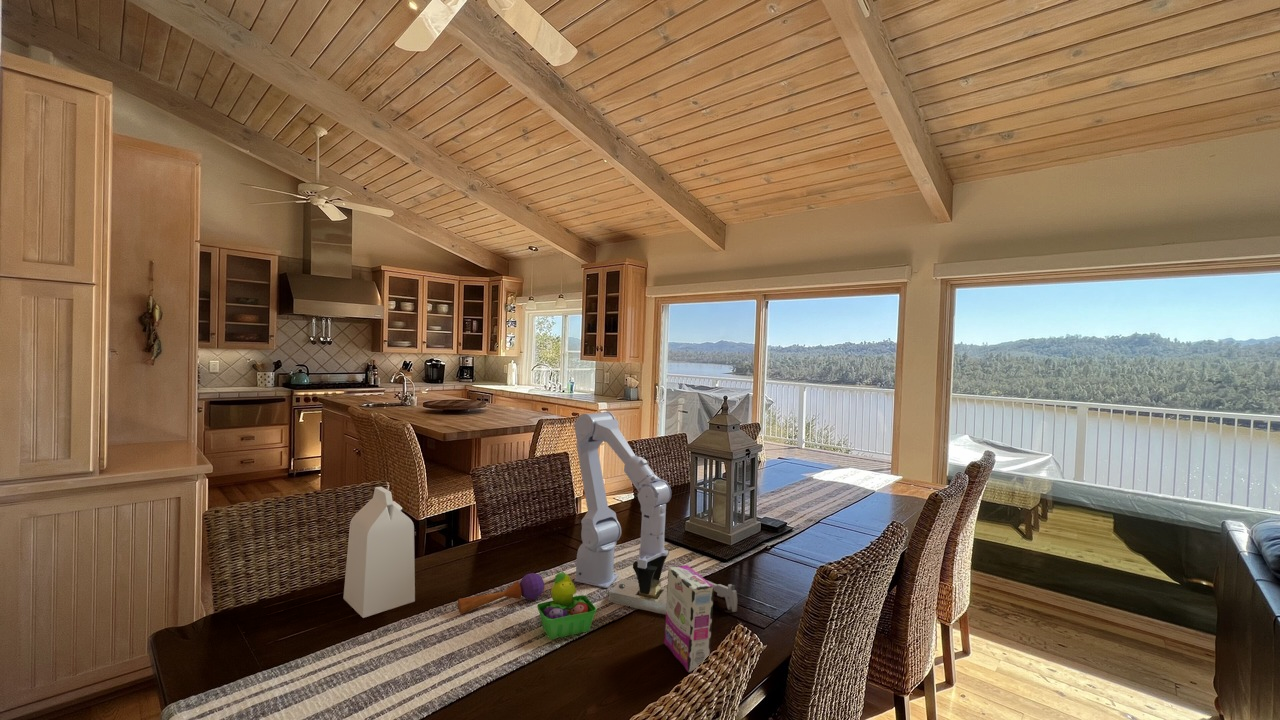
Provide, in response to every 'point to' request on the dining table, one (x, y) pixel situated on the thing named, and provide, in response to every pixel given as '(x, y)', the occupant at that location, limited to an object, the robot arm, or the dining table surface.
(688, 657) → the candy bar box
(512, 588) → the purple maraca
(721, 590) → the caliper
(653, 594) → the block
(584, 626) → the fruit basket
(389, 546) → the milk
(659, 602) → the white slotted plate
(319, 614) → the dining table surface
